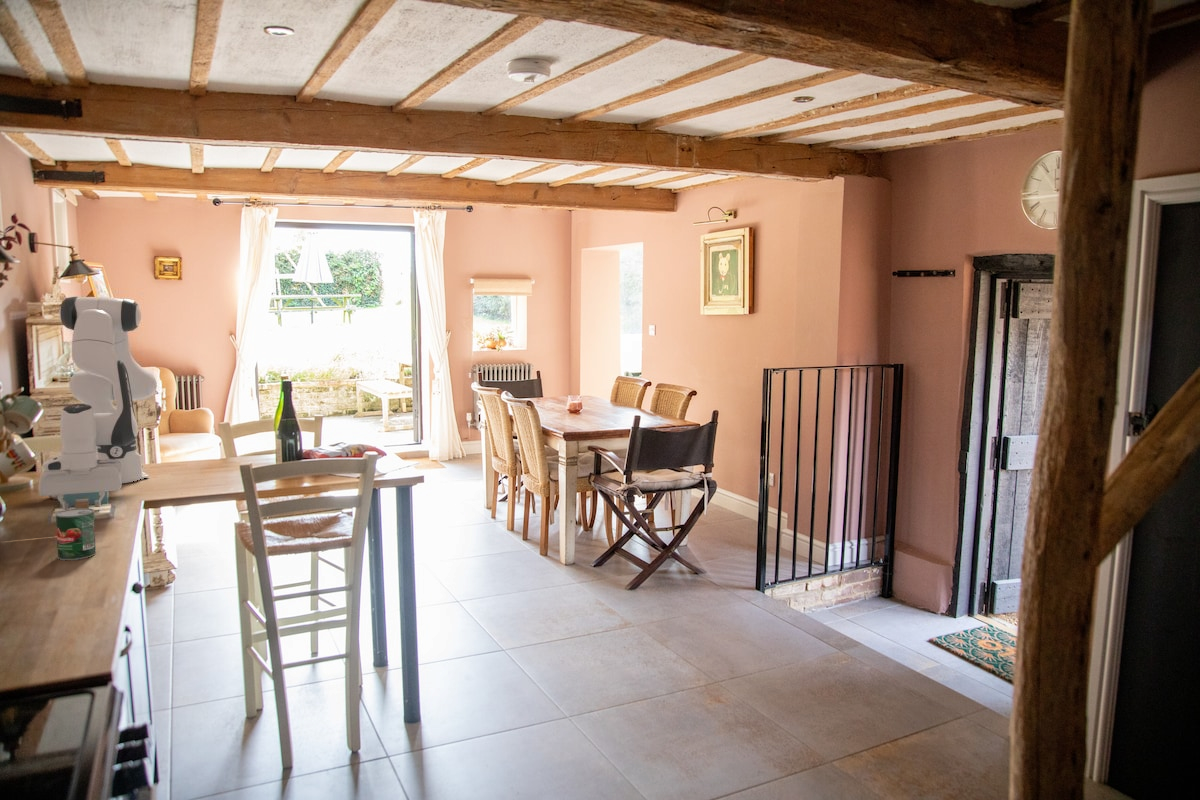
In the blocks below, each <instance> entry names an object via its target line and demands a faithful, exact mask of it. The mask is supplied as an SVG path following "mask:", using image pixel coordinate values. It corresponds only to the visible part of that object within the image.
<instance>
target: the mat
mask: <svg viewBox="0 0 1200 800" xmlns="http://www.w3.org/2000/svg"><path fill="white" fill-rule="evenodd" d="M115 510H116V506H115V505H111V513H110V518H99V519H94V521H96V520H108V519H109V520H110V519H115ZM53 513H54V510H51V512H50V515H49V517H48V519H47V521H46V525H53V524H54V525H55V524H56V522H55V523H51V518H52V516H53Z"/></svg>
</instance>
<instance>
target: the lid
mask: <svg viewBox="0 0 1200 800" xmlns="http://www.w3.org/2000/svg"><path fill="white" fill-rule="evenodd" d="M111 506H112V503H108V504H101V507H95V505H89V500H88V498H87V499H76V502H75V507H69V509H77V508H90V509H93V510H94V519H99V518H110V513H111ZM53 511H54V513H53V516H52V518H51V523H55V522H56V513H58V512H60V511H64V510H63V508H60V507H55V508H54V510H53ZM110 519H111V518H110ZM99 520H100V519H99ZM55 524H56V523H55Z"/></svg>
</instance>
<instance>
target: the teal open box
mask: <svg viewBox="0 0 1200 800" xmlns="http://www.w3.org/2000/svg"><path fill="white" fill-rule="evenodd" d="M109 492H110V491H105V495H104V497H103V499H102V500H101V504H109V498H110V496H109V494H110V493H109ZM100 496H101V495H99V492H92V493H79V494H66V495H64V497H63V498H62V499H63V500H64V501H65V503H69V507H75V502H76V499H87V498H88V500H89V505H95V500H98V499H99V498H100ZM59 506H60V507H59V508H63V506H62V504H61V503H60V502H59Z"/></svg>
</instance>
